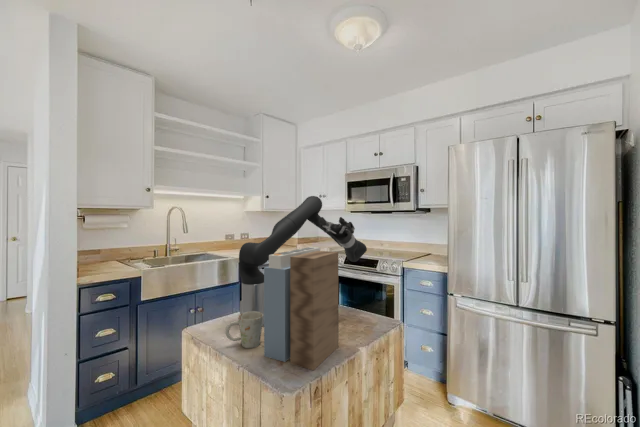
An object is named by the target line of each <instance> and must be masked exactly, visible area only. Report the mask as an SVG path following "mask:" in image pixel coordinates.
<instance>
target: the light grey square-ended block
mask: <svg viewBox="0 0 640 427" xmlns="http://www.w3.org/2000/svg"><path fill="white" fill-rule="evenodd" d="M314 251H321V247H314V246H307V247H304V248H303V247H302V248H299V249H294V250H289V251H284V252H278V253H274V254H272V255H269V260H268V266H269V268H275V269H282V268H286V267H290V257H292V256H297V255H301V254H305V253H310V252H314Z"/></svg>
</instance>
